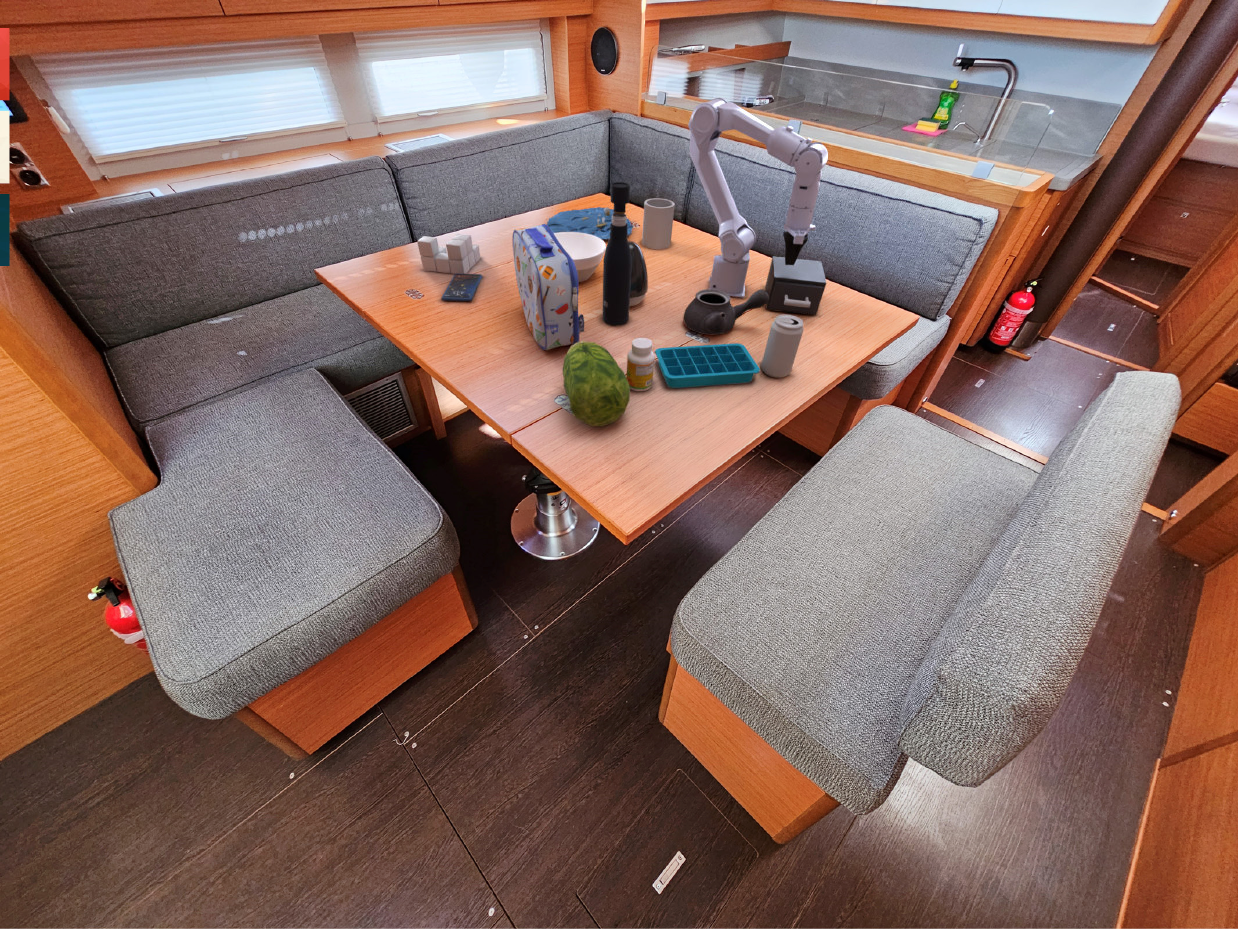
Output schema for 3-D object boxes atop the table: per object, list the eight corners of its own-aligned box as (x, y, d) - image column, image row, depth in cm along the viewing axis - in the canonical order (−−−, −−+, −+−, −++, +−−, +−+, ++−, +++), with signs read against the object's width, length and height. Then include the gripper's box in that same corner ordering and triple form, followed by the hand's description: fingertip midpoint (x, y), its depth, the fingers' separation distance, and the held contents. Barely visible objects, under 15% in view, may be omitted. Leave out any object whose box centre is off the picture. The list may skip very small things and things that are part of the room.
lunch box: (590, 356, 113) (590, 255, 98) (544, 364, 110) (537, 261, 94) (554, 301, 131) (549, 209, 116) (514, 307, 128) (503, 213, 113)
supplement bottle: (624, 377, 107) (626, 335, 100) (650, 376, 108) (654, 335, 101) (627, 392, 103) (629, 350, 97) (653, 391, 104) (657, 349, 97)
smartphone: (482, 273, 139) (470, 298, 128) (482, 276, 140) (471, 302, 129) (454, 272, 139) (440, 297, 128) (454, 275, 139) (441, 300, 128)
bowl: (522, 281, 139) (519, 250, 133) (555, 256, 152) (554, 227, 146) (588, 296, 134) (588, 264, 128) (616, 268, 147) (617, 239, 141)
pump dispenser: (614, 290, 137) (616, 231, 126) (651, 297, 135) (656, 237, 124) (600, 306, 130) (601, 245, 119) (639, 314, 128) (644, 252, 117)
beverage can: (790, 381, 108) (806, 330, 100) (759, 377, 109) (773, 325, 101) (789, 365, 113) (804, 315, 105) (759, 361, 114) (773, 311, 105)
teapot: (690, 346, 117) (697, 305, 110) (678, 314, 128) (683, 275, 121) (770, 344, 119) (781, 304, 112) (750, 313, 130) (759, 274, 123)
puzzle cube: (480, 258, 149) (476, 229, 143) (464, 275, 140) (459, 245, 135) (441, 254, 150) (436, 225, 145) (423, 270, 141) (416, 241, 136)
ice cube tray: (758, 384, 107) (762, 372, 105) (665, 391, 104) (666, 378, 102) (739, 354, 115) (742, 342, 113) (652, 360, 112) (653, 348, 110)
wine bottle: (632, 316, 127) (640, 182, 106) (623, 327, 122) (630, 191, 102) (607, 311, 128) (611, 178, 107) (598, 322, 124) (600, 186, 103)
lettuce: (606, 368, 109) (607, 320, 101) (635, 429, 95) (638, 378, 87) (553, 375, 107) (550, 326, 99) (574, 438, 92) (572, 386, 85)
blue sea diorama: (603, 256, 157) (603, 238, 153) (527, 232, 167) (526, 215, 164) (652, 225, 174) (653, 209, 170) (581, 205, 185) (580, 190, 181)
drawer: (816, 321, 126) (825, 295, 122) (769, 316, 127) (776, 290, 123) (811, 292, 138) (818, 267, 134) (768, 287, 139) (774, 263, 135)
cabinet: (816, 315, 131) (826, 282, 125) (766, 309, 132) (774, 276, 126) (811, 292, 140) (821, 261, 134) (765, 287, 142) (772, 256, 136)
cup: (671, 249, 159) (675, 208, 151) (642, 248, 159) (644, 207, 150) (669, 239, 165) (673, 199, 157) (641, 237, 165) (644, 197, 157)
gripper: (823, 215, 113) (808, 276, 122) (816, 197, 123) (803, 254, 132) (790, 214, 114) (778, 274, 123) (786, 195, 124) (775, 252, 133)
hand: (789, 264), depth 128 cm, fingers closed
